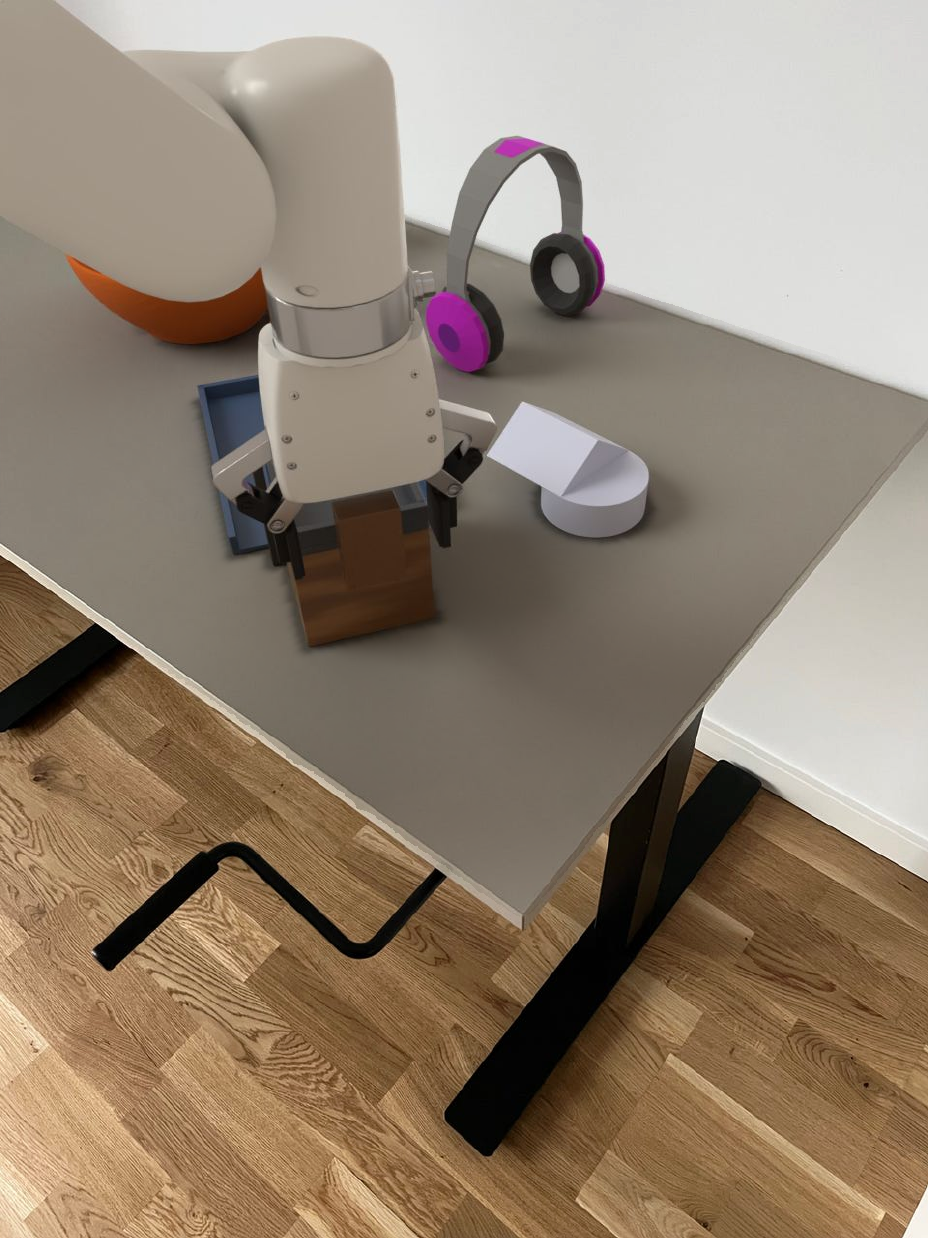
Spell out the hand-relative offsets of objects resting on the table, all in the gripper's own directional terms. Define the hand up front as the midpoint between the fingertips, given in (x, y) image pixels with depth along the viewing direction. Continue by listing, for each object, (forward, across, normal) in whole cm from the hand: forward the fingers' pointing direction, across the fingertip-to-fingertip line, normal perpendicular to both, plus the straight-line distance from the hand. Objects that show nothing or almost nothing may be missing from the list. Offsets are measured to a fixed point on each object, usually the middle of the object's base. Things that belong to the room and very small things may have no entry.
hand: (369, 550), depth 65 cm
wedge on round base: (+12, -21, -15) cm, 28 cm away
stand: (+12, 0, -10) cm, 16 cm away
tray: (+12, 0, -29) cm, 31 cm away
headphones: (+12, -25, -43) cm, 51 cm away
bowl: (+12, +7, -60) cm, 61 cm away
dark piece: (+3, 0, -7) cm, 8 cm away
